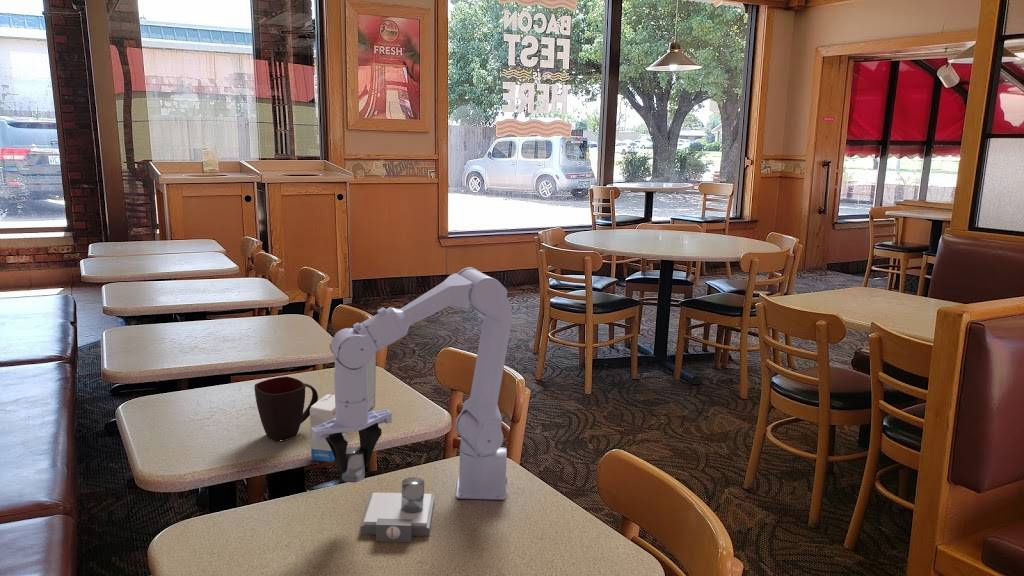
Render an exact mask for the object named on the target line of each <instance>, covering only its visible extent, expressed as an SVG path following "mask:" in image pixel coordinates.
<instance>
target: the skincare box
mask: <svg viewBox="0 0 1024 576" xmlns="http://www.w3.org/2000/svg"><path fill="white" fill-rule="evenodd" d="M376 367H377V352H376V353H374V354H373V355H372V358H371V360H370V361H369V363H368V364H367V370H368V397H369V411H370V410H371V409H372V408H373V407H374V406H376V398H377V397H376V394H377V393H376V391H377V389H376V388H377V387H376V384H377V383H376V381H377V380H376V379H377V376H376V375H377V370H376V369H377V368H376Z"/></svg>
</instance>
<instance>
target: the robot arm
mask: <svg viewBox="0 0 1024 576" xmlns="http://www.w3.org/2000/svg"><path fill="white" fill-rule="evenodd" d="M470 306H471V307H472V308H473V310H474V311H475V312H476V313H477V314H478V316H479V317H480V318H481V319H482V325H481V326H482V327H481V332H480V337H479V342H478V349H477V355H476V360H475V366H474V373H473V377H472V384H471V389H470V395H469V398H468V399H466V400H465V401H464V402H463V404H462V408H461V411H460V413H459V414H458V416H457V417H456V420H455V430H456V433H457V434H458V435H459V436H460V444H459V467H458V468H459V471H458V472H459V473H458V475H459V476H458V477H457V483H456V490H455V491H456V492H455V497H456V499H458V500H459V499H462V500H463V499H464V500H465V499H466V500H470V499H471V500H499V501H500V500H501V501H502V500H506V486H507V484H508V474H507V461H508V459H507V458H508V457H507V455H508V454H507V453H508V451H507V449H508V448H506V447H501V446H502V444H503V442H504V433H503V429H502V423H503V417H502V414H501V412H500V408H499V405H498V402H499V395H500V390H501V386H502V381H503V379H502V378H503V375H504V374H503V373H504V367H505V362H506V356H507V352H508V351H507V350H508V348H509V347H508V346H509V345H508V344H509V340H510V335H511V329H512V324H513V316H514V315H513V311H512V309H511V305H510V302H509V298H508V290H507V288H506V287H505V286H504V285H503V283H501V282H500V281H499V280H498V279H496V278H494V277H491V276H489V275H487V274H485V273H483V272H481V271H479V270H478V269H477V268H474V267H465V268H463V269H461V270H459V271H458V272H457V273H456V272H455V273H451V274H450V275H449V276H447V278H445V280H443V281H442V282H440V284H438V285H436V286H435V287H433V288H431V289H430V290H428V291H427V292H425V293H423V294H422V295H420V296H418V297H417V298H415V299H414V300H412V301H410V302H409V303H408V304H407V303H406V305H405V306H402V307H401V308H395V307H391V306H389V307H388V308H385V307H381V308H378V309H377V311H376V312H377V314H374V315H373V316H371V317H370V318H367V319H366V320H364V321H361V322H356V323H354V324H353V325H352V326H353V328H352V327H346V328H342V329H340V330H338V331H337V332H335V334H334V336H332V339H331V342H330V343H329V350H330V351H331V353H332V354H333V356H334V357H335V358H334V395H335V409H336V418H334V419H332V420H330V421H328V422H325V423H323V424H321V425H318V426H315V427H312V428H311V431H310V439H311V438H312V439H313V440H314V441H315V442H318V441H321V439H322V438H325V439H326V441H327V443H328V444H329V446H330V448H331V450H332V453H333V455H334V458H335V460H334V461H335V465H336V468H337V470H338V472H339V473H340V474H342V473H346V449H347V448H348V446H347V444H349V441H348V442H347V441H346V440H345V439H344V436H342V433H346V432H347V433H352V432H358V436H359V444H360V446H359V447H361V448H363V449H364V463H365V468H366V467H369V466H370V463H371V461H372V460H371V458H372V455H373V452H374V449H375V447H376V445H377V443H378V441H379V439H380V438H381V436H382V428H380V426H379V425H380V424H381V425H382V424H391V423H392V422H393V420H392V419H393V417H392V415H393V414H392V412H391V411H389V409H382V410H371V411H370V410H369V397H368V370H367V364H368V363H369V361H370V360H371V358H372V355H373V354H374V353H376V354H377V352H379V351H380V350H383V349H385V348H386V347H388V346H390V345H391V344H393V343H395V342H397V341H398V340H400V339H402V338H404V337H405V336H407V334H408V331H409V329H410V326H412V325H413V324H415V323H418V322H420V321H422V320H423V319H426V318H428V317H430V316H432V315H433V314H436V313H438V312H440V311H442V310H444V309H446V308H448V307H454V308H460V309H467V310H468V309H470Z"/></svg>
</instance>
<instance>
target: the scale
mask: <svg viewBox="0 0 1024 576" xmlns="http://www.w3.org/2000/svg"><path fill="white" fill-rule="evenodd" d="M401 499H402V492H377V491H376V492H372V493H370V495H369V499H368V502H367V504H366V508H365V511H364V515H363V517H362V520H361V524H360V535H369V536H370V535H375V542H393V543H411V542H412V537H413V536H414V537H415V536H416V537H419V536H420V537H421V536H422V537H430V533H431V528H432V521H433V520H432V519H433V513H434V507H435V495H433V494H432V493H424V504H423V510H422V511H420V512H418V513H407V512H404V511H403V510H402V509H401Z"/></svg>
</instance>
